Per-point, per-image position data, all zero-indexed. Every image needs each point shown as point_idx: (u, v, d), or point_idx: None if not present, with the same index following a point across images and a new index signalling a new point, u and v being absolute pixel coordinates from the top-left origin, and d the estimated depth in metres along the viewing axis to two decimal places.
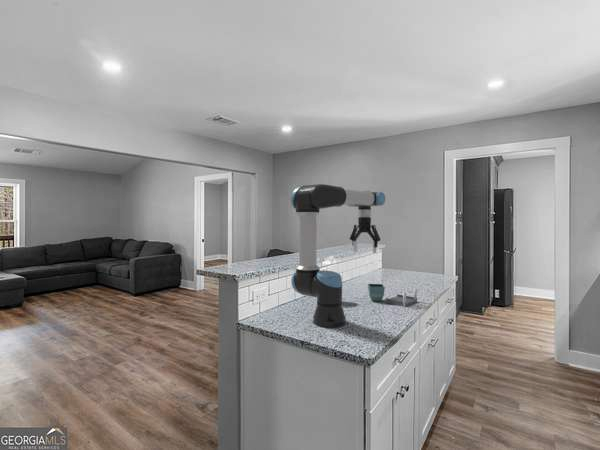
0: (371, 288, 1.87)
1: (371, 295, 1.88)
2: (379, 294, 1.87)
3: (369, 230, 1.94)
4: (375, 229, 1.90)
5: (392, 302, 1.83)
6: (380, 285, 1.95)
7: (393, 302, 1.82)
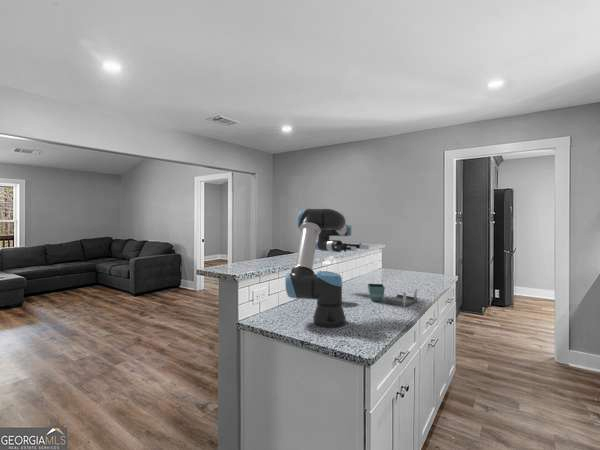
0: (371, 288, 1.87)
1: (371, 295, 1.88)
2: (379, 294, 1.87)
3: None
4: None
5: (392, 302, 1.83)
6: (380, 285, 1.95)
7: (393, 302, 1.82)
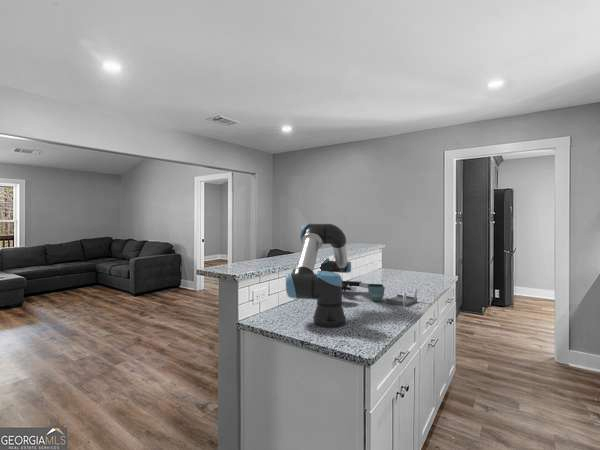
0: (371, 288, 1.87)
1: (371, 295, 1.88)
2: (379, 294, 1.87)
3: (347, 286, 2.09)
4: None
5: (392, 302, 1.83)
6: (380, 285, 1.95)
7: (393, 302, 1.82)
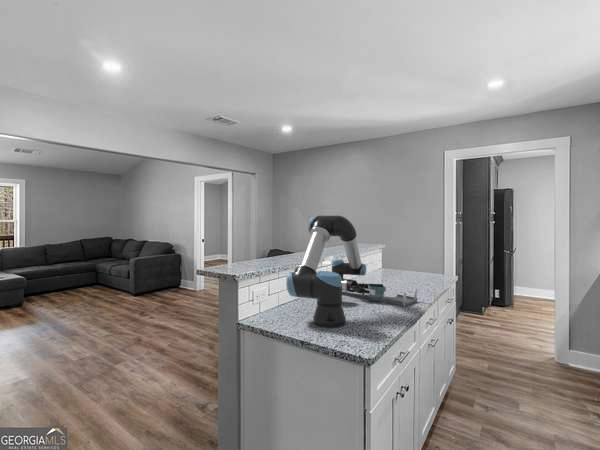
0: (371, 288, 1.87)
1: (371, 295, 1.88)
2: (379, 294, 1.87)
3: (363, 288, 2.00)
4: None
5: (392, 302, 1.83)
6: (380, 285, 1.94)
7: (393, 302, 1.82)
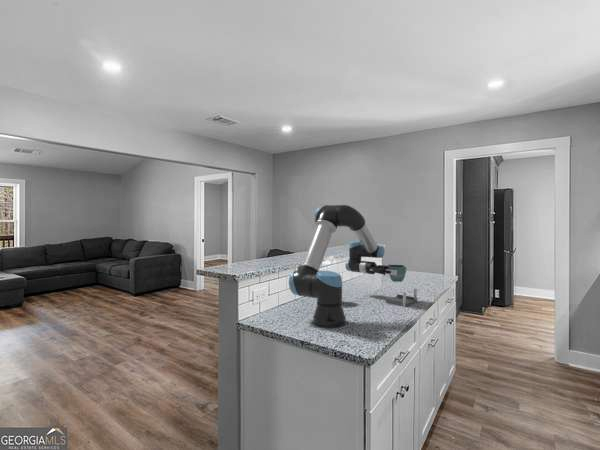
0: (392, 268, 1.83)
1: (392, 275, 1.84)
2: (400, 275, 1.83)
3: None
4: None
5: (392, 302, 1.83)
6: (400, 266, 1.91)
7: (393, 302, 1.82)
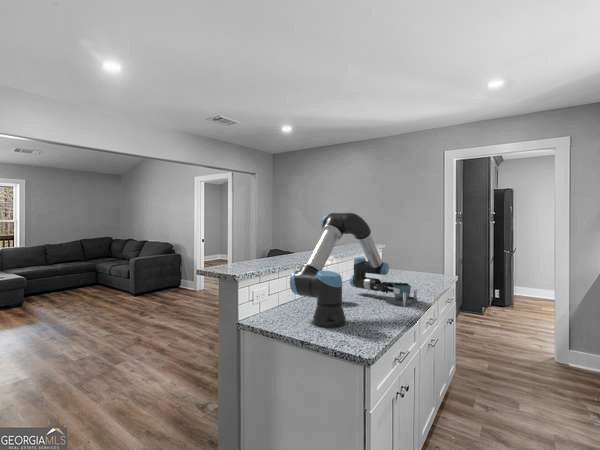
0: (397, 287, 1.82)
1: (397, 294, 1.83)
2: None
3: None
4: None
5: (392, 302, 1.83)
6: (405, 284, 1.90)
7: (393, 302, 1.82)
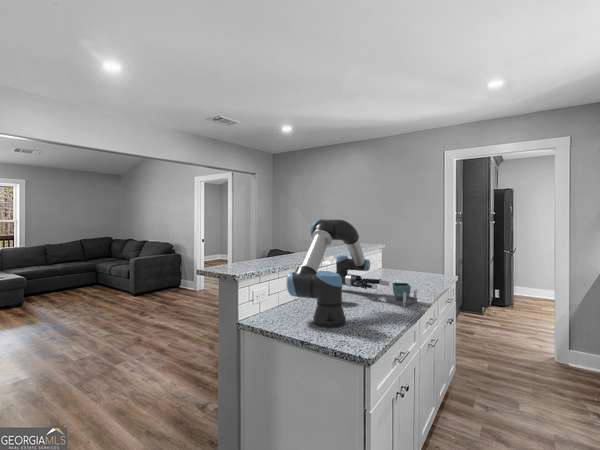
0: (397, 287, 1.82)
1: (397, 294, 1.83)
2: None
3: None
4: None
5: (392, 302, 1.83)
6: (405, 284, 1.90)
7: (393, 302, 1.82)
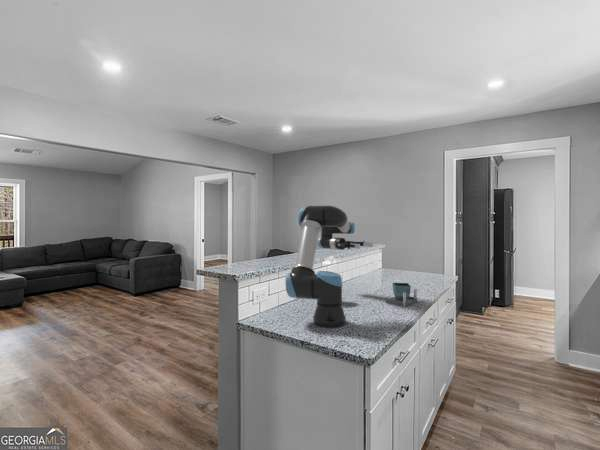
0: (397, 287, 1.82)
1: (397, 294, 1.83)
2: None
3: None
4: None
5: (392, 302, 1.83)
6: (405, 284, 1.90)
7: (393, 302, 1.82)
